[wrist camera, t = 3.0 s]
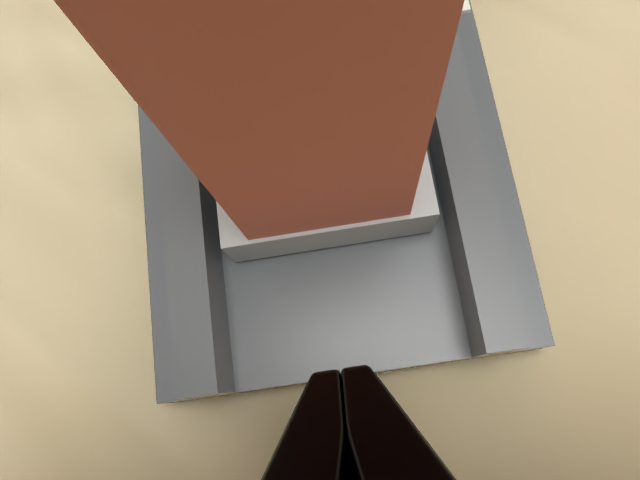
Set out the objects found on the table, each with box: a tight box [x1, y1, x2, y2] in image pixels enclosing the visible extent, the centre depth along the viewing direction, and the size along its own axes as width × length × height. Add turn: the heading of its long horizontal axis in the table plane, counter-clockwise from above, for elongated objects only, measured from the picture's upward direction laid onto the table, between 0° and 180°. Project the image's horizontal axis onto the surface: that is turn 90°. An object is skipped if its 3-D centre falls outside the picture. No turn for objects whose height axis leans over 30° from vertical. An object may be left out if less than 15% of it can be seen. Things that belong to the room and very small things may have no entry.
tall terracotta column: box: [54, 0, 464, 262], centre depth 9 cm, size 3×5×13 cm, turn 98°
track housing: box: [138, 0, 554, 404], centre depth 16 cm, size 15×10×4 cm
